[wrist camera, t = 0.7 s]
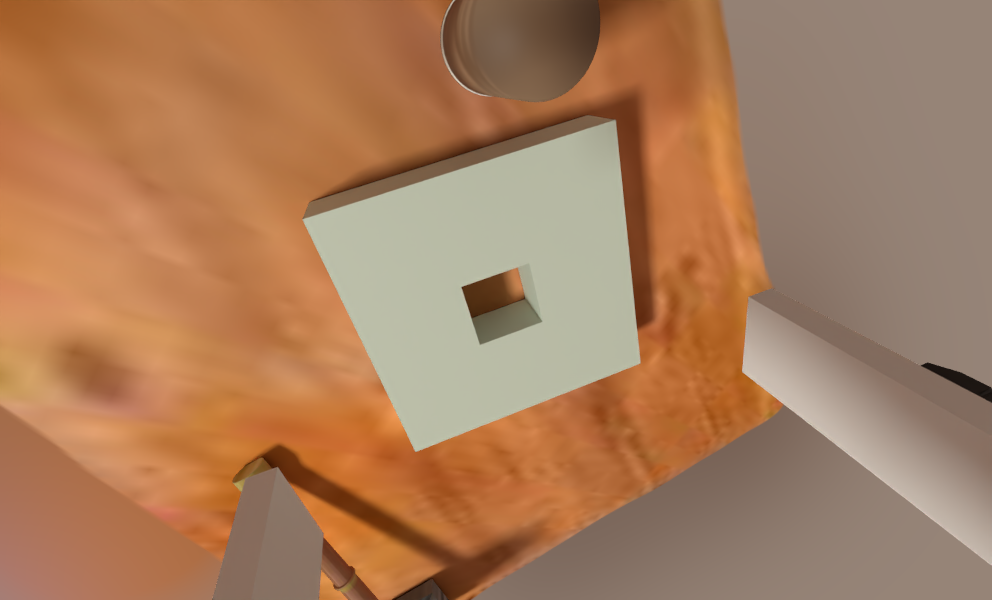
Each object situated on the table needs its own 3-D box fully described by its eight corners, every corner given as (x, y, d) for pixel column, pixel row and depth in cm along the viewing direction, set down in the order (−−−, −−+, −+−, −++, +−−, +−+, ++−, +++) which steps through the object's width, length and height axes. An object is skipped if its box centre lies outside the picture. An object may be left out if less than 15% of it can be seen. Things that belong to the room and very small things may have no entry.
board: (309, 202, 29) (302, 219, 26) (587, 114, 32) (615, 119, 28) (410, 418, 39) (415, 451, 36) (616, 339, 41) (640, 363, 38)
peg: (417, 8, 26) (456, -37, 16) (501, -15, 27) (592, -72, 16) (444, 103, 29) (492, 119, 18) (520, 80, 29) (608, 83, 19)
